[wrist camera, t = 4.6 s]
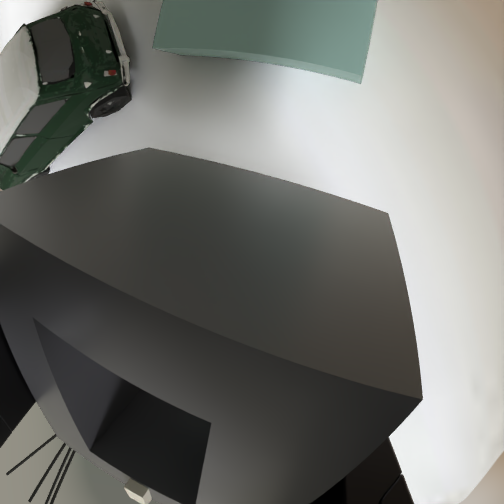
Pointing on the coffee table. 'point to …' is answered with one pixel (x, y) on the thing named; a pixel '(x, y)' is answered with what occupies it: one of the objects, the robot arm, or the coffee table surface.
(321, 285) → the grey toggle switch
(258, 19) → the shaft pedestal
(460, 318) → the coffee table surface
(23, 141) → the miniature car
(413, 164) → the coffee table surface
